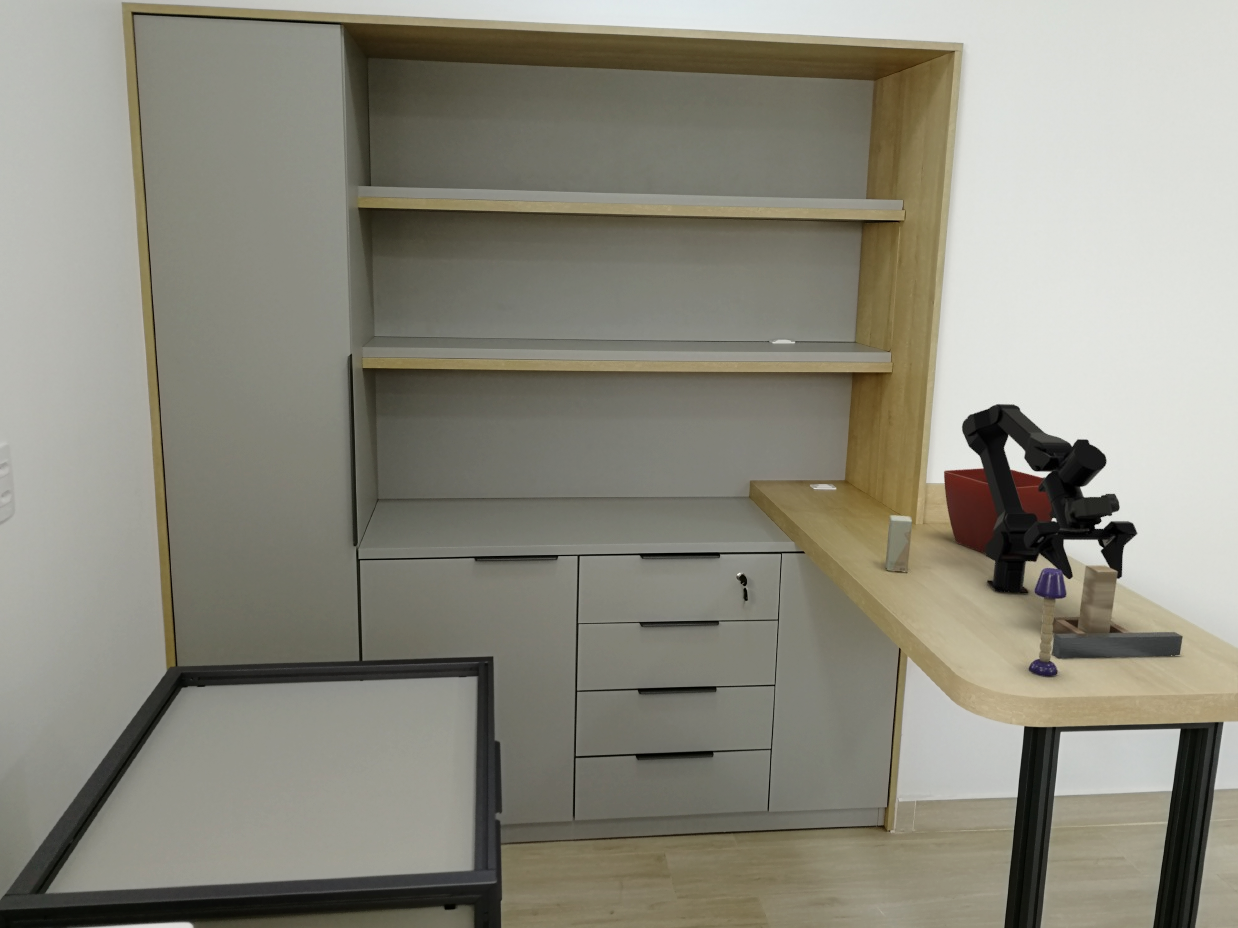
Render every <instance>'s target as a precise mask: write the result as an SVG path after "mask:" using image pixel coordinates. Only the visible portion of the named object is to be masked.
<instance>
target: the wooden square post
mask: <svg viewBox="0 0 1238 928" xmlns="http://www.w3.org/2000/svg"><path fill="white" fill-rule="evenodd" d="M1117 574H1118V571H1116V570H1114V569H1111V568H1110V567H1109V566H1108V565H1104V564H1102V565H1101V564H1100V565H1097V564H1096V565H1085V570H1084V576H1083V584H1082V592H1081V598H1080V608H1079V615H1078V617H1079V621H1078V629H1079V630H1081V631H1083V632H1084V633H1109V632H1110V625H1111V621H1112V616H1113V609H1114V602H1115V595H1116V587H1117V580H1118V579H1117Z"/></svg>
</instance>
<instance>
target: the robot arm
mask: <svg viewBox="0 0 1238 928" xmlns="http://www.w3.org/2000/svg"><path fill="white" fill-rule="evenodd" d="M961 430H962V434H963V436H964V438H965V442H966V443H967V445H968V447H969V448H970V449H971V450H972V451H973V452H974V453H976V454H977V455H978V456H979V459H980V461H981V464H982V468H984V472H985V475H986V479H987V482H988V485H989V489H990V492H991V496H992V499H993V502H994V506H995V509H996V513H997V517H998V519H997V521H996V524H995V527H994V529H993V533H994V536H993V537H992V538H991V540H990V541H989V542H988V543H987V544H986V545H985V552H986V553H985V556H986V557H987V558H988V559H991V560H992V561H994V568H993V576H992V580H991V579H990V580H986V584H988V585H989V587H991V589H992V590H993V591H994V592H996V593H1007V594H1008V593H1009V594H1012V593H1013V594H1023V595H1024V594H1026V595H1027V594H1029V590H1028V589H1027V588H1026V587H1025V585H1024V582H1025V581H1024V580H1025V573H1026V564H1027V563H1026V562H1033V563H1036V562H1037V560H1038V559H1039V555H1040V556H1042V557H1043V559H1045V560H1047V561H1048V562H1049V563H1050V564H1052V565H1053V566H1054V568H1055V569H1059V570H1061V571H1062V573H1063V577H1064V578H1066V579H1067V580H1071V579H1072V578H1073V577H1074V575H1073V570H1072V567H1071V563H1070V561H1069V558H1068V556H1067V552H1066V550H1065V547H1064V546H1065V545H1064V543H1065V542H1064V541H1067V540H1071V541H1077V540H1078V541H1082V540H1084V541H1086V540H1087V541H1095V540H1096V541H1097V542H1098V545H1099V546H1100V547H1101V548H1102V549H1100V553H1101V555H1102V556H1103V558H1104V560H1105V561H1106V563H1107V566H1108V567H1109V568H1111V569H1114V570H1116V571H1118V574H1117V580H1118V579H1121V578H1123V558H1124V557H1123V555H1124V550H1125V549H1124V548H1125V546H1126V545H1127V544H1128V543H1129V542H1130V541H1131V540H1133V538H1135V537H1136V536H1137V535H1138V532H1137V529H1136V526H1135V524H1134V522H1131V521H1129V520H1127V521H1126V520H1111V521H1110V522H1109V523H1108V524H1107V525H1105V526H1104V528H1096V526H1097V525H1099V524H1100V523H1102V522H1103V520H1102V518H1105V517H1107V516H1108V517H1112V516H1113V514H1114V513H1116V512H1118V511H1120V506H1121V505H1120V502H1119V501H1120V500H1119V499H1118V497H1117V495H1116V493H1105V494H1101V495H1100V496H1084V494H1083V491H1082V488H1083V487H1086V486H1088V485H1089V483H1091V481H1092V480H1094V479H1095V477H1096V476H1097V475H1098V474H1099V473H1100V472H1101V471H1103V469H1105V467H1106V465H1107V456H1106V455H1105V453H1103V452H1102V451H1101V450H1100V449H1099V448H1098V447H1097V446H1095V445H1092V444H1090V440H1089V439H1083V438H1081V439H1079V438H1077V439H1076V441H1074V443H1073V444H1072V445H1071V443H1070V442H1069V441H1067V440H1066V439H1063V438H1061V437H1059V436H1055V435H1051V434H1048V433H1046V432H1045V431H1043V430H1042V428H1040V427H1039V426H1038V425H1037V424H1036V423H1035V422H1033V421H1032V420H1031V419H1030V418H1029V417H1028V416H1026V414H1024V412H1022V411H1021V408H1020V407H1019V406H1018V405H1015V404H1013V403H1012V404H1009V403H1008V404H1007V403H1005V404H1004V403H1002V404H1001V403H998V404H994V405H992V406H990V407H988V408H986V409H983V410H980V411H977V412H974V413H972V414H969V415H968V416H967V417H966V418H965V419H964V420H963V421H962V426H961ZM1009 437H1010V438H1011V439H1012V440H1013V441H1014V442H1015V443H1016V444H1018V446H1020V447H1021V449H1023V450H1024V456H1023V459H1024V460H1025V462H1026V463H1027V465H1028V466H1029V467H1030V468H1031V470H1032V471H1034V472H1035V473H1036V472H1043V473H1044V472H1046V473H1047V472H1048V473H1047V475H1046V476H1044V477H1041V478H1042V482H1041V484H1040V485H1039V488H1038V491H1039V492H1046V493H1047V496H1048V499H1049V502H1050V504H1051V507H1052V511H1051V512H1050V513H1049V515H1050V518H1053V519H1055V520H1052V521H1038V520H1037V516H1036V515H1035V514H1034V513H1026V512H1025V511H1024V510H1023V508H1022V505H1021V502H1020V499H1019V495H1018V492H1017V489H1016V486H1015V483H1014V479H1013V476H1012V473H1011V470H1012V469H1011V467H1010V464H1009V460H1008V456H1007V454H1006V451H1005V446H1006V444H1007V441H1008V438H1009ZM1010 469H1011V470H1010Z"/></svg>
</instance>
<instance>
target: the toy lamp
mask: <svg viewBox="0 0 1238 928" xmlns="http://www.w3.org/2000/svg"><path fill="white" fill-rule="evenodd" d="M1065 582H1066V581H1065V576H1064V575H1063V573H1062V571H1061V570H1059V569H1057V568H1056V567H1054V568H1053V567H1045V568H1043V569H1042V570H1041V572H1040V574H1039V577H1038V580H1037V582H1036V584H1035V587H1034V591H1033V593H1034V594H1035V595H1036V596H1038V597H1040V598H1043V603H1044V604H1043V607H1042V612H1043V614H1042V617H1041V621H1042V623H1041V626H1040V629H1041V633H1040V643H1039V651H1040V652H1039V654H1038V657H1039V658H1037V659H1034V660H1033V661H1031V662H1030V665H1029V666H1028V671H1029V672H1031V673H1032V674H1035V675H1038V676H1041V677H1055V676H1057V675H1058V672H1059V671H1058V668H1057V666H1056V664H1055V662H1052V661H1051V657H1052V653H1051V652H1052V648H1053V646H1052V642H1053V641H1052V640H1053V633H1052V632H1053V625H1052V623H1053V621H1054V617H1055V616H1054V614H1055V610H1056V608H1055V604H1056V601H1057V600H1062V599H1064V598H1066V597H1067V589H1066V583H1065Z"/></svg>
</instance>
